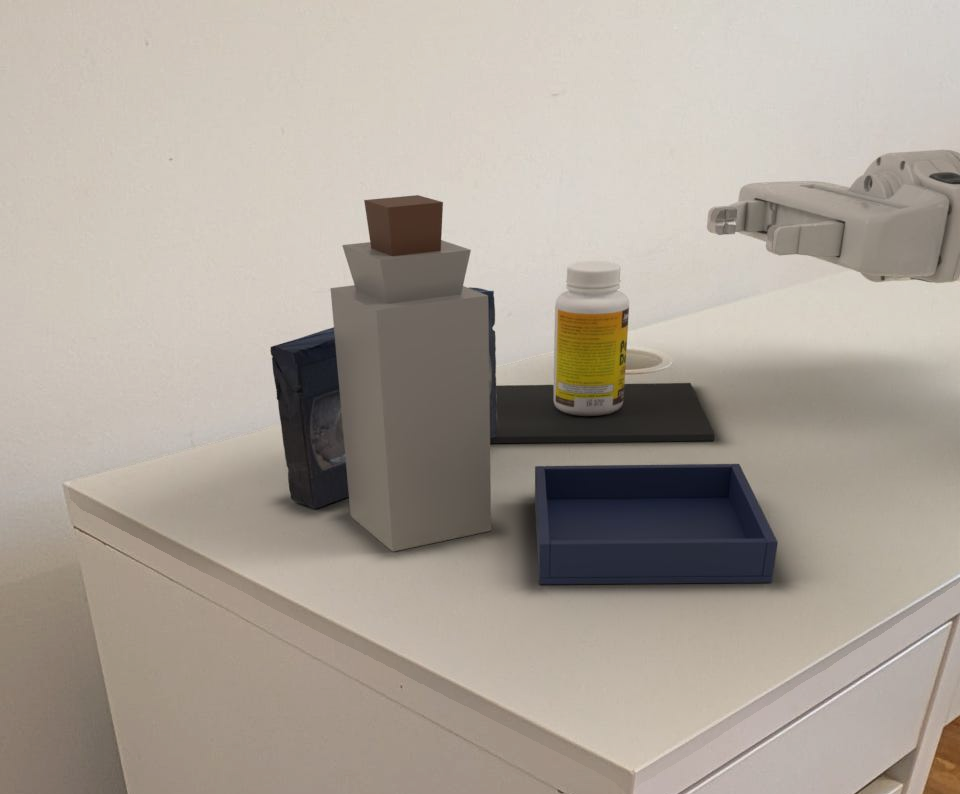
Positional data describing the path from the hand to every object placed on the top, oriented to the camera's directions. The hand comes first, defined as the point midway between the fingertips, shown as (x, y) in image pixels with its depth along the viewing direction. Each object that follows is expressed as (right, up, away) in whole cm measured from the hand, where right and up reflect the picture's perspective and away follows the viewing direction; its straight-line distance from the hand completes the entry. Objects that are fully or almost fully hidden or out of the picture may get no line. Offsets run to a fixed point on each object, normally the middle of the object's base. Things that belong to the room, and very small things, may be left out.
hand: (740, 230), depth 86 cm
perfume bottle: (-23, -26, -13) cm, 37 cm away
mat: (-11, -12, +5) cm, 17 cm away
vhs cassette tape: (-25, -20, -5) cm, 32 cm away
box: (-10, -28, -16) cm, 33 cm away
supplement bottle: (-11, -12, +5) cm, 17 cm away
